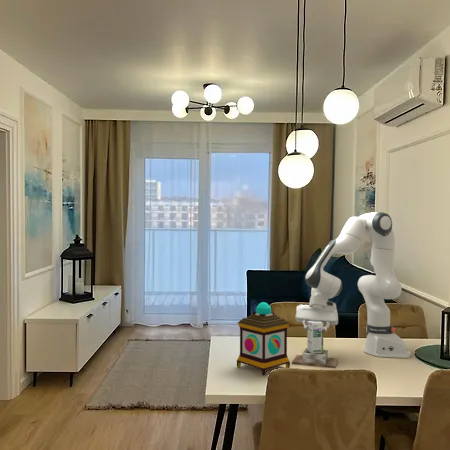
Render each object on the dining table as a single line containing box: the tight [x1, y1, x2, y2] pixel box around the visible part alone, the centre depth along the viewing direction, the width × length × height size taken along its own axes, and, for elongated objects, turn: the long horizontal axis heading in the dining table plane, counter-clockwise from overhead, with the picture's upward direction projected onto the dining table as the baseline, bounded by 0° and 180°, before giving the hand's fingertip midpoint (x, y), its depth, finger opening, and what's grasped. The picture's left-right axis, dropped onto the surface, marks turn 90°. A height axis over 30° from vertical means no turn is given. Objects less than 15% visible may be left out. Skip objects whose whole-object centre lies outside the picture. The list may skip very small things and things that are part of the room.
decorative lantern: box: [236, 301, 291, 377], centre depth 217 cm, size 20×20×30 cm
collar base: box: [291, 347, 339, 369], centre depth 227 cm, size 20×13×5 cm, turn 71°
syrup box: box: [306, 321, 324, 354], centre depth 227 cm, size 6×6×14 cm
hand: (315, 330), depth 226 cm, fingers open, 8 cm apart
